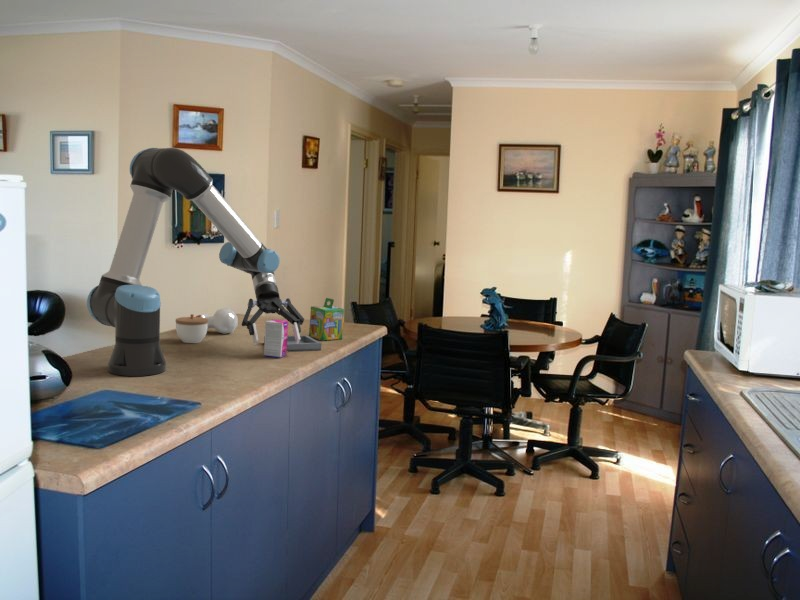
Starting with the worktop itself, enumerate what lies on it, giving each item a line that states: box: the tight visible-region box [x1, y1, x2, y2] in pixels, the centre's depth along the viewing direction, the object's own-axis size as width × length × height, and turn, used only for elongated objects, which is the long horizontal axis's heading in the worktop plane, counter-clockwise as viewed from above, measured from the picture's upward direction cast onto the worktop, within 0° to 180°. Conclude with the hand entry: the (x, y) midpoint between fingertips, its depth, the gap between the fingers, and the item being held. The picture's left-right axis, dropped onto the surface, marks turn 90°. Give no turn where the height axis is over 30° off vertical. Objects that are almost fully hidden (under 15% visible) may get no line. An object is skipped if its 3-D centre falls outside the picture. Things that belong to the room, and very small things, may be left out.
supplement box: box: [263, 319, 289, 359], centre depth 233 cm, size 6×6×12 cm
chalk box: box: [308, 297, 345, 342], centre depth 268 cm, size 9×9×15 cm
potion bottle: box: [195, 307, 239, 335], centre depth 268 cm, size 9×10×15 cm
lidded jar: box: [175, 313, 209, 344], centre depth 249 cm, size 11×11×9 cm
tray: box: [263, 334, 322, 352], centre depth 250 cm, size 15×15×2 cm
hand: (277, 342), depth 231 cm, fingers open, 13 cm apart
